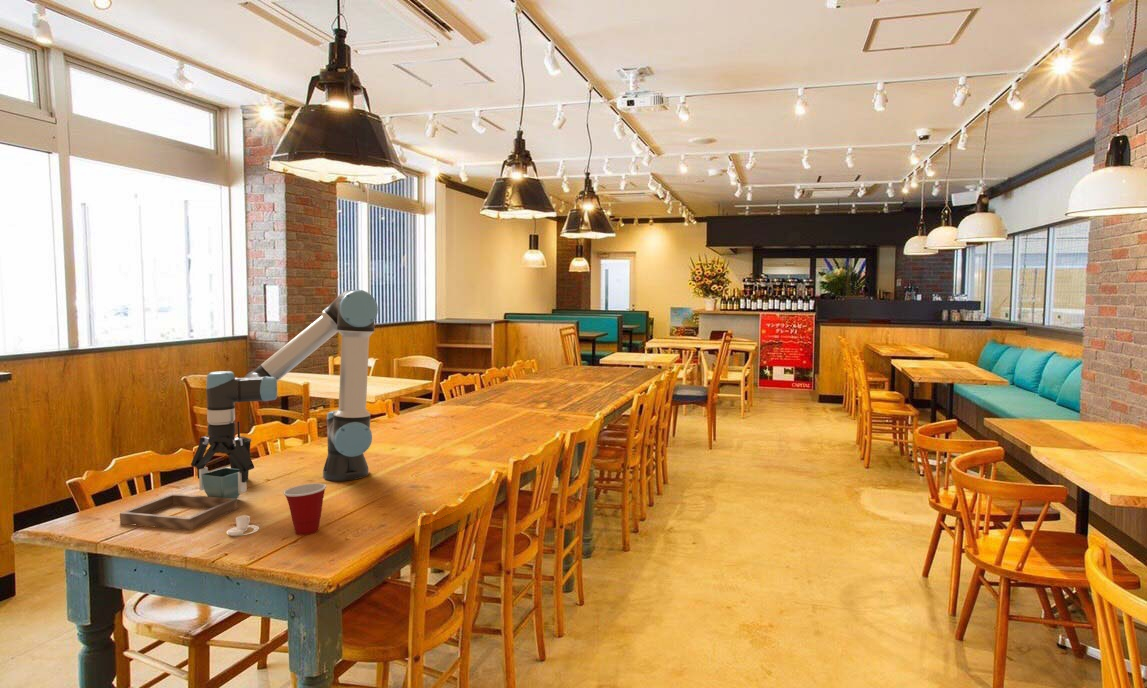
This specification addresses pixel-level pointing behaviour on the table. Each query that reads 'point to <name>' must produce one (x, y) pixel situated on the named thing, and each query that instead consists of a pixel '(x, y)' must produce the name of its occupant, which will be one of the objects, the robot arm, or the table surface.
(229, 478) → the flower pot
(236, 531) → the teacup and saucer
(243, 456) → the robot arm
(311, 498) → the plastic cup
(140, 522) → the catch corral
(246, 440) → the drinking cup
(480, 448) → the table surface
